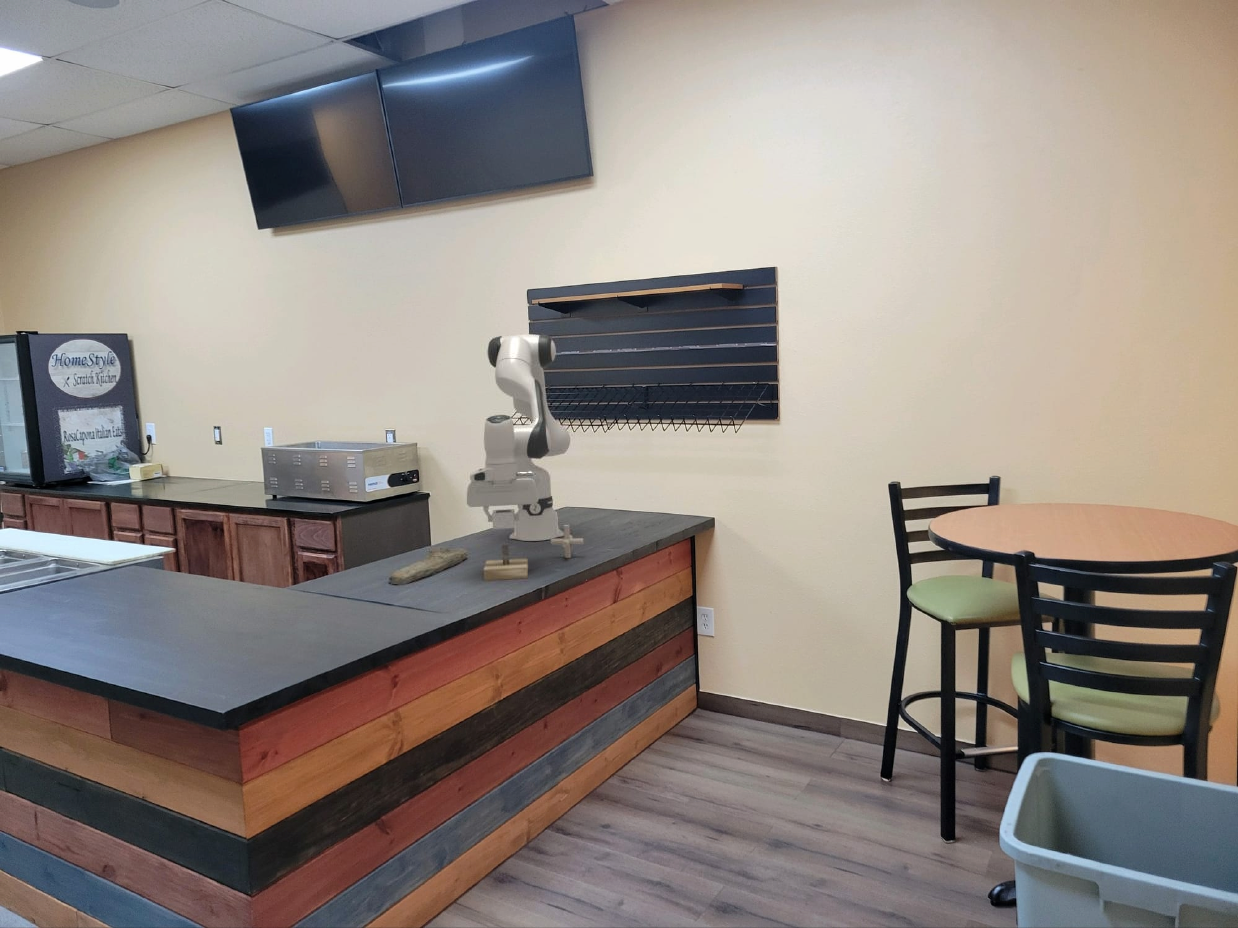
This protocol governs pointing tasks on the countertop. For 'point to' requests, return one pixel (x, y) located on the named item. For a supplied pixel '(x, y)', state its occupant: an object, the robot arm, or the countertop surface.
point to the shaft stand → (506, 567)
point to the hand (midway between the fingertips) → (503, 520)
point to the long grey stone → (429, 565)
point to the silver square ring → (503, 518)
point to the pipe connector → (567, 541)
